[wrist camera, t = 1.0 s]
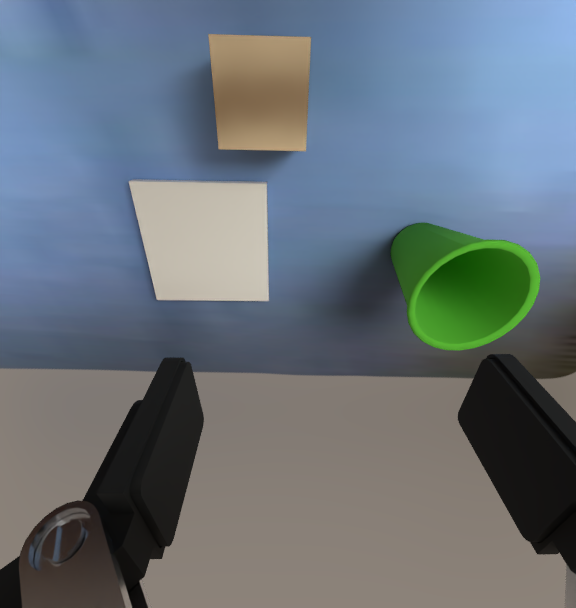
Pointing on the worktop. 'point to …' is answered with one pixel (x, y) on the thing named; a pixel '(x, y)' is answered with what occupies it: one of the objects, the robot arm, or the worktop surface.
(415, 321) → the cup
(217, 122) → the block
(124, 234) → the worktop surface
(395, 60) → the worktop surface
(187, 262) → the panel
